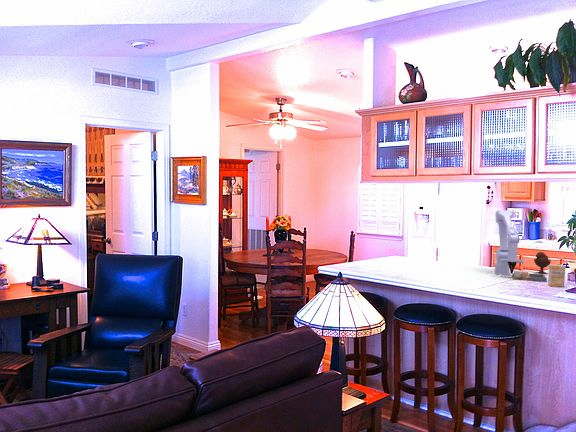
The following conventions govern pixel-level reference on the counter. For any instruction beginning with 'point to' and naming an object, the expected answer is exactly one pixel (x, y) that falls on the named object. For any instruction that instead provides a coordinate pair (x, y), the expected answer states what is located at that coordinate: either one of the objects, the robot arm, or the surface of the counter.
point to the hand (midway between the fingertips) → (511, 273)
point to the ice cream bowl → (541, 261)
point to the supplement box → (556, 275)
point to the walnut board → (521, 277)
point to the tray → (538, 277)
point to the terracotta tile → (524, 273)
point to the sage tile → (517, 273)
